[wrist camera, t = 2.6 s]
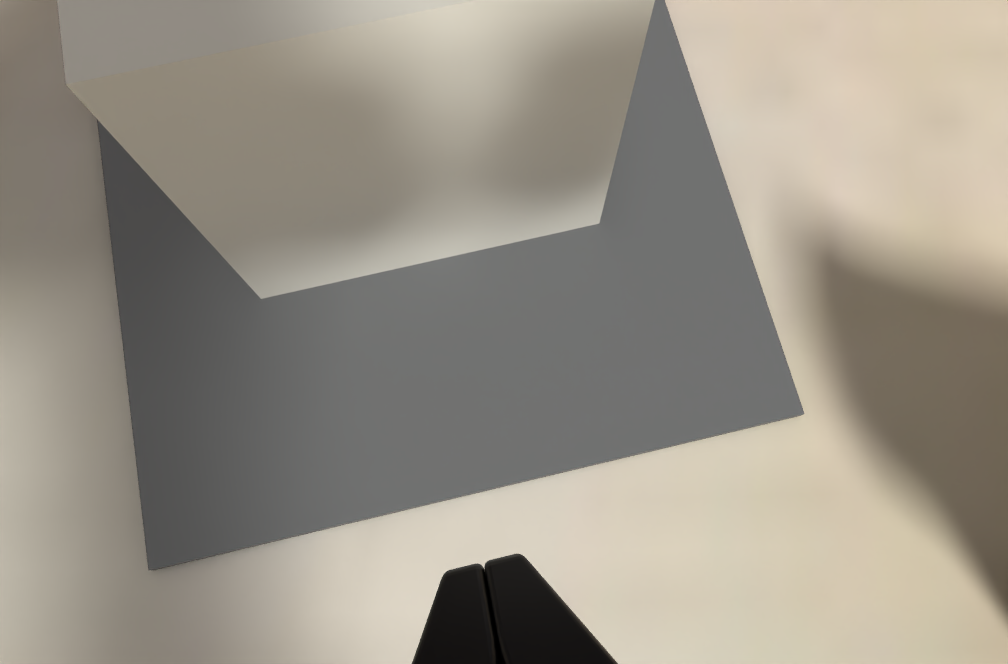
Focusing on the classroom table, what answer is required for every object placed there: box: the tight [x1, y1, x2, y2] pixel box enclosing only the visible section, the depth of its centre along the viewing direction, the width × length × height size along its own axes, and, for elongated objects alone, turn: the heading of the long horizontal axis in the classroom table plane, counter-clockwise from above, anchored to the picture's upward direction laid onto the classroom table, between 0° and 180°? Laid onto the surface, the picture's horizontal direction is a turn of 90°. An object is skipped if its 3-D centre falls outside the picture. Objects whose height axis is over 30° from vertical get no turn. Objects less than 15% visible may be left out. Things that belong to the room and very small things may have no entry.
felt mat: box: [97, 0, 804, 570], centre depth 26 cm, size 22×18×1 cm
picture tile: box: [57, 0, 655, 299], centre depth 19 cm, size 2×10×11 cm, turn 103°
